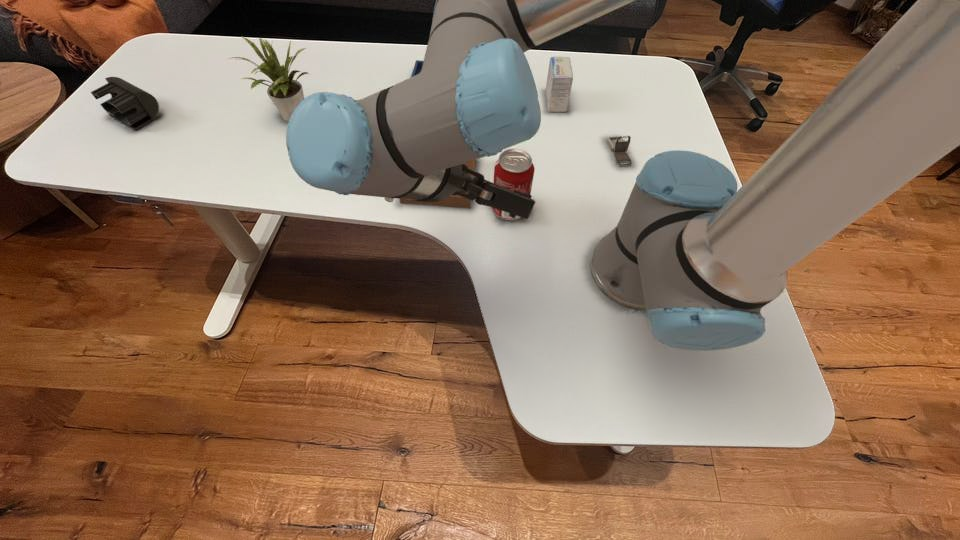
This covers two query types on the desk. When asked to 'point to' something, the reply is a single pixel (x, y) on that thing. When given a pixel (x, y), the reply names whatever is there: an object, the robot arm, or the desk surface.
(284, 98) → the house plant
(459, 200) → the walnut tray
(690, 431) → the desk surface
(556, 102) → the medicine box
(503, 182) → the soda can
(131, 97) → the end cap
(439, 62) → the robot arm
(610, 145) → the strap clip
